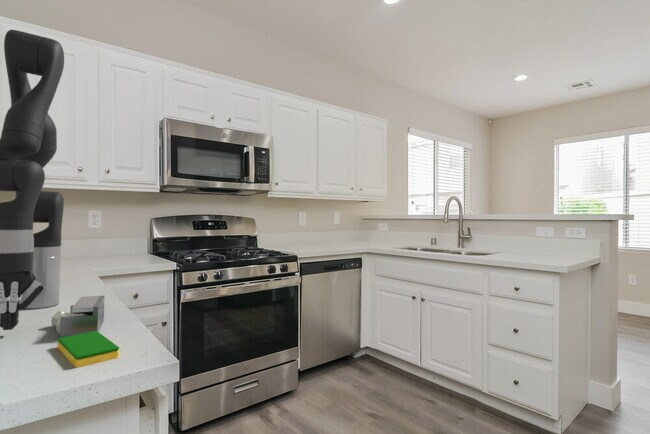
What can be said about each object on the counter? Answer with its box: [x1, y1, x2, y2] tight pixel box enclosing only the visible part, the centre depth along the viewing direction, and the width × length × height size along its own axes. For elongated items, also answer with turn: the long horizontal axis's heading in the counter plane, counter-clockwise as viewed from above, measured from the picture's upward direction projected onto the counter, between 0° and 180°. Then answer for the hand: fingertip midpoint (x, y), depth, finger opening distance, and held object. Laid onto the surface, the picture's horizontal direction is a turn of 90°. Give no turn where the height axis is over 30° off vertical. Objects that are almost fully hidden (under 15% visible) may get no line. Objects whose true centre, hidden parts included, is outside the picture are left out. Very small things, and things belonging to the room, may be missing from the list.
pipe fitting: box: [50, 310, 87, 335], centre depth 85 cm, size 8×4×7 cm
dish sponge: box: [57, 331, 120, 368], centre depth 72 cm, size 7×14×2 cm, turn 48°
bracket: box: [59, 295, 105, 338], centre depth 86 cm, size 12×7×6 cm, turn 25°
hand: (8, 328), depth 80 cm, fingers closed
